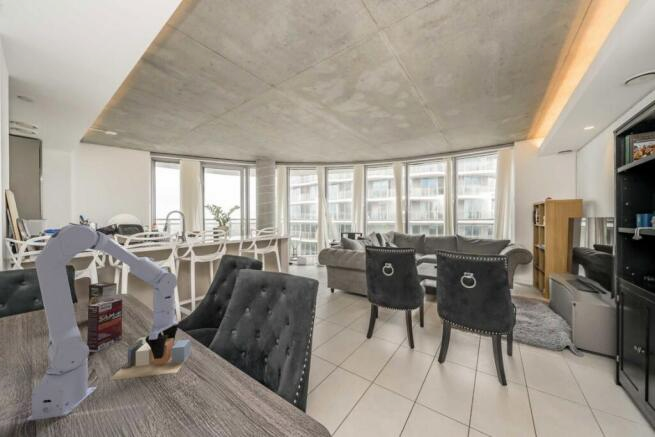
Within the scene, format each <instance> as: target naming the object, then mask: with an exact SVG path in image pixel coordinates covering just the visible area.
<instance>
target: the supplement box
mask: <svg viewBox="0 0 655 437" xmlns="http://www.w3.org/2000/svg"><path fill="white" fill-rule="evenodd" d="M86 332H87V334H86V335H87V338H86V340H87V341H86V342H87V344H86V345H87V346H88V347H89V353H95V354H96V353H98V352H100V351H102V350H103V349H105V348H108V347H109V346H113V345H114V344H116V343H119V342H120V341H122V339H123V338H122V337H123V336H122V335H123V299H122V298H121V299H120V298H117V299H111V300H108V301H104V302H100V303H97V304H93V305H89V304H88V305H87V331H86Z"/></svg>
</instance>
